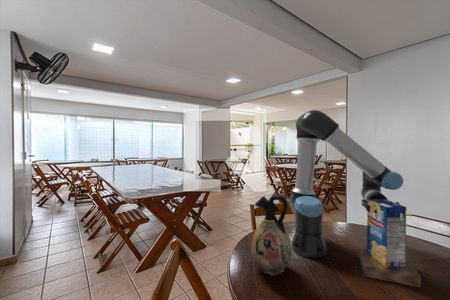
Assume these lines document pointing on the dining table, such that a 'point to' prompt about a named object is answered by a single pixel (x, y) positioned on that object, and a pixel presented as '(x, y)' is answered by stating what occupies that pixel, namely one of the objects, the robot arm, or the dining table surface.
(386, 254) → the beverage box
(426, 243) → the dining table surface
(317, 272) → the dining table surface
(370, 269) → the walnut pedestal block
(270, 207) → the ceramic jug
